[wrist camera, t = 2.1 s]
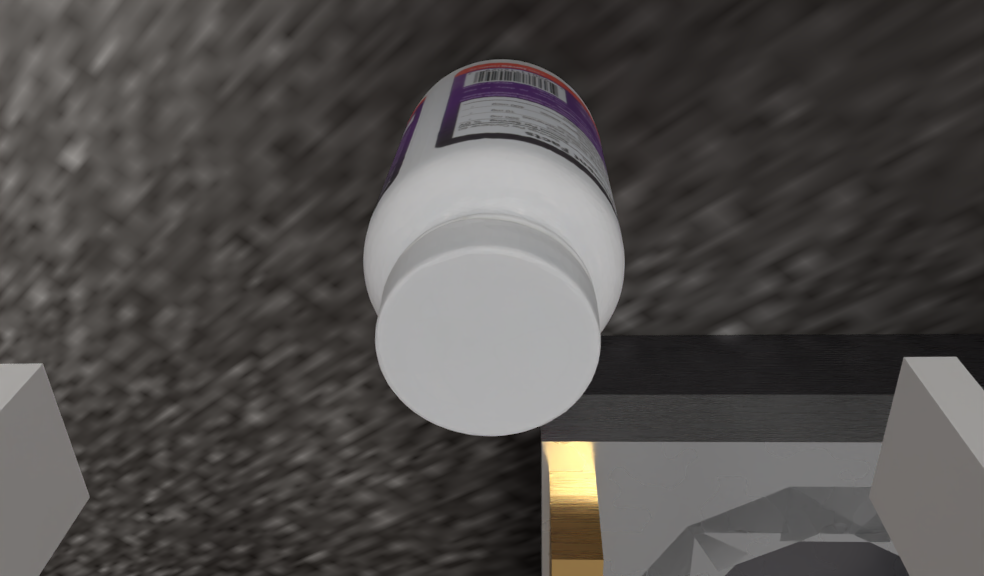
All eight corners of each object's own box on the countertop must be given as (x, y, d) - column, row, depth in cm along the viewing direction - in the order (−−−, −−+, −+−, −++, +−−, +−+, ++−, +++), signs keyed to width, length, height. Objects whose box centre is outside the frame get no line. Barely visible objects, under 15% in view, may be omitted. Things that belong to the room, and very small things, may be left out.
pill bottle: (486, 273, 25) (464, 509, 16) (365, 135, 23) (266, 324, 14) (640, 169, 23) (702, 375, 15) (521, 10, 21) (514, 142, 13)
